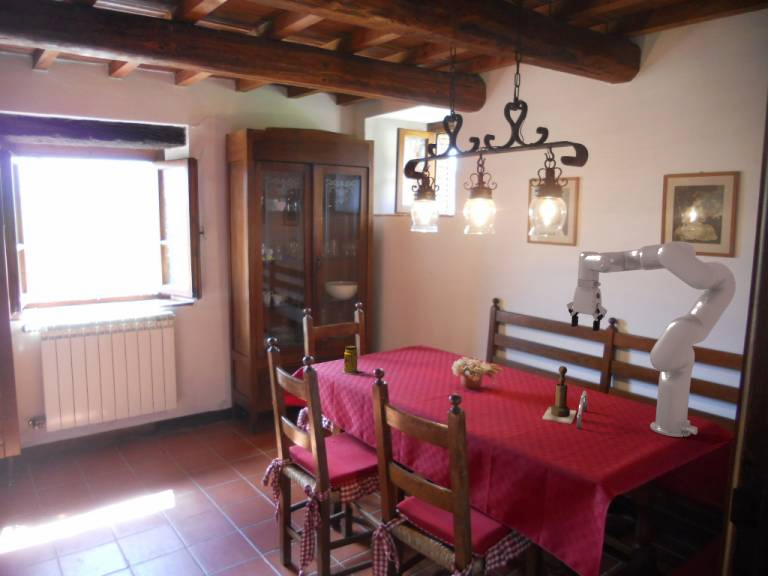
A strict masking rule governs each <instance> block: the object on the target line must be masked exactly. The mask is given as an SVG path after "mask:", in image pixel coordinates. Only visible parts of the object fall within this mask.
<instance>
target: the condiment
mask: <svg viewBox="0 0 768 576" xmlns="http://www.w3.org/2000/svg"><path fill="white" fill-rule="evenodd" d="M344 348H345V351H344V354H343V356H344V357H343V358H344V363H343V364H344V365H343V367H344V368H343V370H342V371H341V370H340V372H341V373H344V374H348V375H349V376H350V375H354V374H359V373H363V372H364V370H360V369H358V352H357V351H358V350H357V346H356V345H346V346H345V347H344ZM359 370H360V372H359ZM357 372H358V373H357Z"/></svg>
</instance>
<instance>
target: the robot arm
mask: <svg viewBox="0 0 768 576" xmlns="http://www.w3.org/2000/svg"><path fill="white" fill-rule="evenodd" d="M696 255H697V252H696V249H695V247H694V245H693V244H691V243H690V242H687V241H669V242H666V243H659V244H651V245H644V246H642V247H641V248H638V249H637V248H636V249H631V250H623V251H609V252H608V251H605V252H597V251H581V252H580V253H579V256H578V268H577V270H578V271H577V284H576V285H577V286H576V287H575V290H574V295H573V301H570V302H569V303H567V304H566V306H567V307H566V308H567V309H568V313H569V314H570V315H569V316H571V321H570V322H571V325H570V326H571V328H574V327H578V326H579V316H578V315H579V314H584V315H589V316H591V317H592V318H593V319H594V320H593V321H592V332H599V331H600V330H601V321H602V320H603V319H604V318H605V317H606V315H607V313H608V309H606V308H605V307H604V306H603V305H602V302H603V301H602V291H601V288H599V287H601V286H602V284H601V282H600V281H599V280H600V273H602V274H609V273H619V272H629V271H640V270H644V271H652V270H653V271H654V270H655V271H656V270H663V269H664V270H665V269H666V270H667V271H669V273H671V274H672V275H674V276H675V277H676V278H678V279H679V280H681V281H682V282H683V283H685V284H687V286H689V287H691V288H692V289H695V290H701V291H702V290H703V292H702V294H701V295H700V296H699V297H698V298H697V300H696V301H695V303H694V304H693V306H692V307H691V308H690V310H689V311H688V312H687V313H686V315H683V316H679V317H676V318H675V319H673V320H671V321H670V323H669V324H668V325H667V326H666V327H665V329H664V331H663V332H662V334H660V336H659V338H658V339H657V341H656V342H655V343H654V346H653V347H652V349H651V351H650V354H649V361H650V365H652V367H653V368H654V369H655V370H656V371H658V372H660V373H659V376H658V377H659V378H658V387H657V389H658V390H657V401H656V402H657V403H656V413H655V421H652V422H651V423H650V427H649V428H650V429H651V430H652V431H653V432H656V433H658V434H660V435H662V436H663V435H664V436H667V437H674V438H675V437H676V438H685V437H690V436H691V435H690V434H692V435H697V434H698V427H697V426H693V425H691V421H690V420H688V414H689V412H688V411H689V402H690V400H689V399H690V388H691V379H692V374H693V368H694V364H695V359H696V358H695V357H696V356H695V355H696V354H695V350H694V348H693V346H694V345H697V344H699V343H701V342H704V341H705V340H706V339H707V338H708V337H709V335H710V333H711V332H712V330H713V329H714V327H715V326H716V325H717V323H718V322H719V321H720V319H721V317H722V316H723V314H724V313H725V311H726V310H727V308H728V307H729V306H730V304H731V302H732V300H733V298H734V297H735V293H736V289H737V287H736V286H737V285H736V283H737V282H736V279H735V276H734V274H733V272H732V271H731V269H730V268H729V267H728V266H726V265H725V264H723V263H722V262H718V261H707V262H706V261H705V262H704V261H702V260H701V259H699V258H698V257H696ZM683 436H684V437H683Z"/></svg>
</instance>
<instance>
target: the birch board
mask: <svg viewBox="0 0 768 576" xmlns="http://www.w3.org/2000/svg"><path fill="white" fill-rule="evenodd" d="M547 407H548V408H547V409H546V411H545V412H544V415H543V416H542V420H545V421H551V422H558V423H563V424H569V425H572V423H573V422H574V419H575V416H576V414H577V410H574V409H573V410H572V409H570V415H569V416H568V417H558V416H554V415H552V414H551V407H552V406H547Z"/></svg>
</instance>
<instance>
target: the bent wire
mask: <svg viewBox="0 0 768 576" xmlns="http://www.w3.org/2000/svg"><path fill="white" fill-rule="evenodd" d="M587 411H588V396H587V391H586V390H583V392H582V394H581V396H580V401H579V405H578V412H577V413H576V414H577V415H576V429H577V430H581V429H582V417H583V416H582V412H584V413H587Z"/></svg>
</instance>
